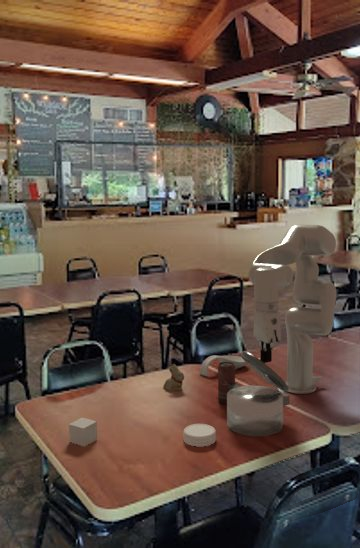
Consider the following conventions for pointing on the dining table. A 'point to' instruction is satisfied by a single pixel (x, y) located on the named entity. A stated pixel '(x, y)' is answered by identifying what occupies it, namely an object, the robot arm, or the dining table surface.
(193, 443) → the white short cylinder
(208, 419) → the dining table surface
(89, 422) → the light grey cube
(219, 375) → the can
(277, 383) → the lid
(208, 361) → the spoon rest
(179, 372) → the chocolate bunny
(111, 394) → the dining table surface
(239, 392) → the round storage jar
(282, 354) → the dining table surface
